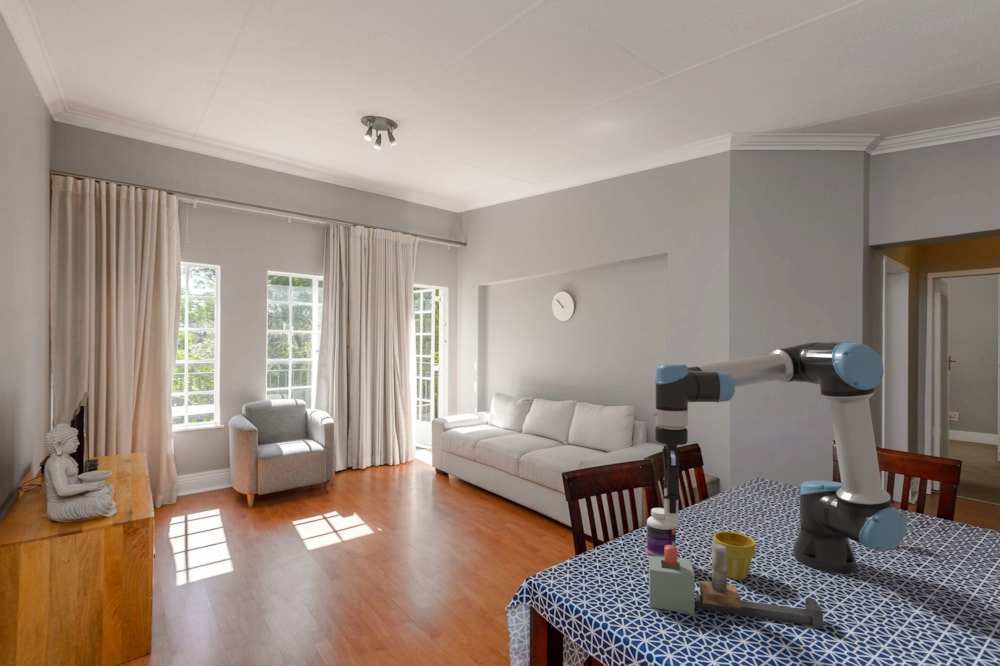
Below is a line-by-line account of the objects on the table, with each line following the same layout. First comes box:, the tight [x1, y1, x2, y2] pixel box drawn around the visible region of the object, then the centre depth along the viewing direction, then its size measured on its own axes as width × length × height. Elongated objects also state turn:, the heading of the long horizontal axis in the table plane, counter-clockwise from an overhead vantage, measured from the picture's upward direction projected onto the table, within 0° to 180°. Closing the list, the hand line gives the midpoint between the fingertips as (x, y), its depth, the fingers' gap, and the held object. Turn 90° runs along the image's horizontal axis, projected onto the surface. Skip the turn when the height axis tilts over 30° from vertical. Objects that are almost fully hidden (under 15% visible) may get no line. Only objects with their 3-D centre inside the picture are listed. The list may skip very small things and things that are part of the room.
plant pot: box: [713, 530, 756, 581], centre depth 133 cm, size 10×10×10 cm
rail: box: [695, 593, 824, 630], centre depth 114 cm, size 26×5×4 cm, turn 75°
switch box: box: [648, 556, 696, 615], centre depth 119 cm, size 10×8×9 cm
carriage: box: [699, 544, 741, 608], centre depth 116 cm, size 8×6×12 cm
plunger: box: [664, 545, 678, 567], centre depth 119 cm, size 3×3×4 cm
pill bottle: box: [646, 507, 677, 560], centre depth 141 cm, size 8×8×14 cm
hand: (671, 520), depth 119 cm, fingers open, 6 cm apart
